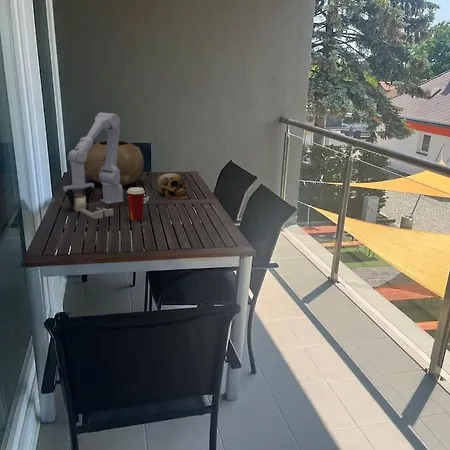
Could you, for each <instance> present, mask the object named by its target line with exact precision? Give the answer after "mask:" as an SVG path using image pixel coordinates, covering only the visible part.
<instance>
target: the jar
mask: <svg viewBox="0 0 450 450" xmlns="http://www.w3.org/2000/svg"><path fill="white" fill-rule="evenodd" d="M73 209H74V211H75V212H81V211H80V209H85V210H87V203H86V196H85V193H74V206H73Z"/></svg>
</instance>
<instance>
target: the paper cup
mask: <svg viewBox="0 0 450 450" xmlns="http://www.w3.org/2000/svg"><path fill="white" fill-rule="evenodd" d="M126 192H127V196H128V209H129V219H130V221H133V222H140V221H143V219H144V203H145V192H146V191H145V190H144V188H143V187H129V188H128V189H127V191H126Z"/></svg>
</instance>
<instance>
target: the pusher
mask: <svg viewBox="0 0 450 450" xmlns="http://www.w3.org/2000/svg"><path fill="white" fill-rule="evenodd" d="M103 208H104V207H103V202H102V201H98V202H93V203H88V211H89V212H91V213H93V212H96V211H103V213H104V210H103Z"/></svg>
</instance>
